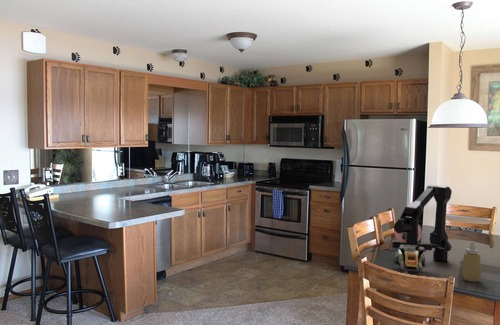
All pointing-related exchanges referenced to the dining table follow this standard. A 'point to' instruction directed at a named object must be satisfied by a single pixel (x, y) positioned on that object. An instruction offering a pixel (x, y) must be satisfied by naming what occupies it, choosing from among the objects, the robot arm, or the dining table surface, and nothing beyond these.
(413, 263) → the chute
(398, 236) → the pink rounded piece
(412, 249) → the mower deck
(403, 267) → the chute bracket
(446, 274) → the dining table surface
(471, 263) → the squeeze bottle
